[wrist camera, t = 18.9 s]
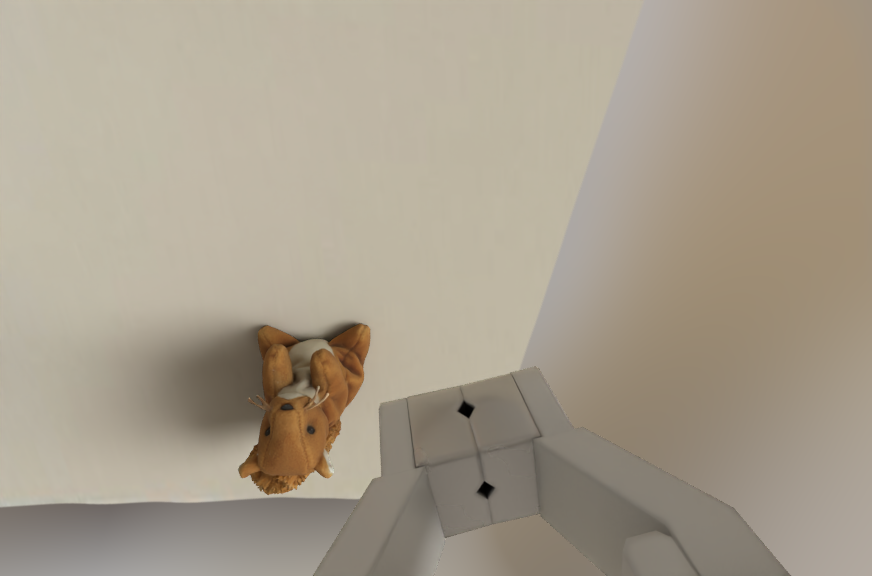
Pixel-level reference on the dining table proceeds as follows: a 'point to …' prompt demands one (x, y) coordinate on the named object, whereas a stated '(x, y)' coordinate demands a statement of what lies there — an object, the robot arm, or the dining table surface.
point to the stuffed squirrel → (303, 404)
